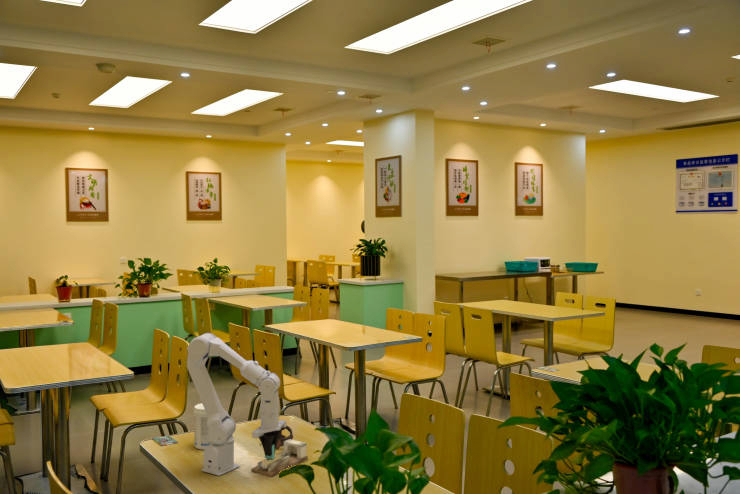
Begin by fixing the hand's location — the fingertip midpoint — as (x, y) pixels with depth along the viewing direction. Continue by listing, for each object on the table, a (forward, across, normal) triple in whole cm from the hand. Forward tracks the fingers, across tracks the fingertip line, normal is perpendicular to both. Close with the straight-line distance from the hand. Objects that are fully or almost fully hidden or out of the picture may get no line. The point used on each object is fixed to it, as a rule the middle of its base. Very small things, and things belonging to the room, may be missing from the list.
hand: (269, 454), depth 205 cm
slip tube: (+4, +3, 0) cm, 5 cm away
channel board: (+5, +5, 0) cm, 7 cm away
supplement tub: (+5, +6, +34) cm, 35 cm away
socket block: (+4, +13, 0) cm, 14 cm away
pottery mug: (+6, +20, +14) cm, 26 cm away
